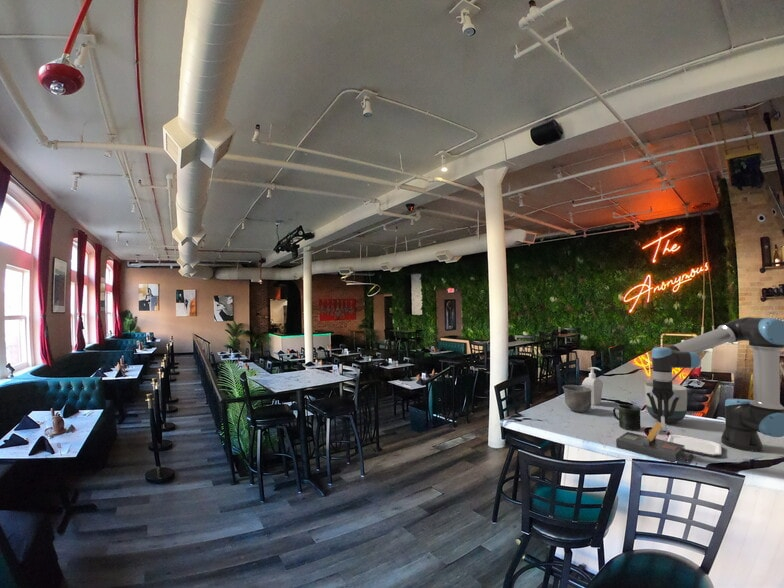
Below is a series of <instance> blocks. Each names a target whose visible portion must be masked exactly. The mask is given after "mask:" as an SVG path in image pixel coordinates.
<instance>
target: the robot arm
mask: <svg viewBox="0 0 784 588" xmlns="http://www.w3.org/2000/svg"><path fill="white" fill-rule="evenodd" d="M742 341H745V342H746V341H748V346H749V347H750V348H751V349H752V351H753V357H752V358H753V359H752V360H753V362H752V363H753V364H752V365H753V367H752V368H753V400H752V399H744V398H743V399H742V398H727V399H725V402H724V419H725V421H724V422H725V428H724V430H723V433H722V435H721V438H720V439H721V443H722V444H723V445H725V446H728V447H731V448H734V449H737V448H738V450H741V449H742V450H743V451H747V450H753V451H752V452H761V451H760V450H762V449H763V450H764V447H763V446H764V445H763V442H762V440H761V438H760V436H759V433H761V434H762V435H765V436H769V437H771V438H782V437H784V406H783V405H782V404H781V401H780V400H781V399H780V398H781V396H780V395H781V394H780V393H781V392H780V391H781V388H780V386H781V385H780V381H781V380H780V370H781V369H780V353H781V352H780V351H782V350H784V320H782V319H778V318H772V317H749V316H748V317H742V318H737V319H734V320H731V321H728V322H726V323H723V324H720V325H719V326H718V327H717V328H716V329H713V330H710V331H708V332H705V333H702V334H699V335H696V336H694V337H691V338H689V339H686V340H683V341H680V342H678V343H675V344H672V345H669V346H667V347H664V346H663V347H662V346H659V347H658V346H657V347H653V348H652V351H651V359H652V361H651V362H652V365H651V366H652V382H653V389H652V392H648V393H647V396H648V397H649V399H650V402H651V406H652V409H653V412H654V414H657V415H658V418H659V422H660V423H661V430H660V431H663V432H665V431H667V425H668V424H670V423H669V417H671V416H673V414H674V411H675V408H676V404H677V401H678V400H679V399H680V397H677V396H676V395H674V392H673V388H672V384H673V382H672V381H673V368H674V369H677V368H679V369H680V368H682V369H694V368H695V369H696V368H698V367H699V366H700V364H701V357H700V356H699V354H698V353H701V352H703V351H706V350H709V349H712V348H716V347H718V346H721V345H723V344H726V343H729V344H732V343H735V342H742ZM653 394H654V395H655V396H656V398H657V401H658V410H657V407H656V404H655V400H654V397H653ZM672 396H673V402H672V406H671V409H670V413H669V403H668V402H669V399H670V398H671V397H672ZM662 400H664V415H662ZM742 450H741V451H742ZM763 450H762V451H763Z"/></svg>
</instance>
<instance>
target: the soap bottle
mask: <svg viewBox="0 0 784 588" xmlns="http://www.w3.org/2000/svg"><path fill="white" fill-rule="evenodd" d="M588 369H589V370H590V373H588V377H585V378H584V380H582V383H581V386H584V387H587V388H590V389H592V391H591V406H598V405H601V403H602V394H603V385H604V382H603V381H602V380H601V379H600V378H599V377H596V375H597V374H596V373H595V370H598V371H602V369H600V368H599V367H596V366H595V367H594V366H591V367H587V370H588Z"/></svg>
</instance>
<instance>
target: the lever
mask: <svg viewBox="0 0 784 588" xmlns="http://www.w3.org/2000/svg"><path fill="white" fill-rule="evenodd" d="M661 431H662V430H661V423H660V422H659V421H658V420H657V421H656V422H655V424H654V425H653V427H652V428H651V430H650V431H649V433H648V435H646V436H647V438H646V439H649V441H650V442H651V441H653V440H654V439H655V438H656V439H657V436H658V435H659V434H660V432H661Z"/></svg>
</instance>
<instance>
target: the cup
mask: <svg viewBox="0 0 784 588" xmlns="http://www.w3.org/2000/svg"><path fill="white" fill-rule="evenodd" d="M562 390H563V393H564V402H565V404H566V406H567V407H568V409H570V410H572V411H573V412H578V413H583V412H587V411H589V410H590V409H591V408H592V405H591V391H592V389H590V388H587V387H584V386H582V385H576V384H565V385H562Z"/></svg>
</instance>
